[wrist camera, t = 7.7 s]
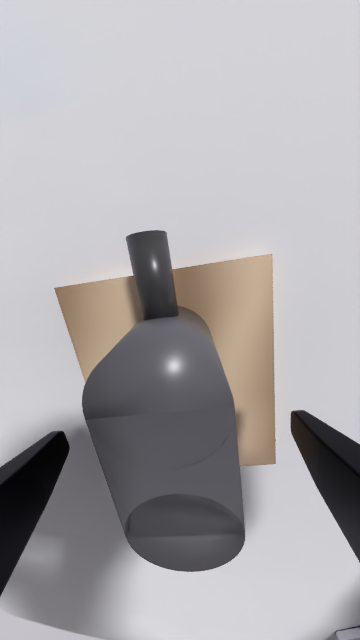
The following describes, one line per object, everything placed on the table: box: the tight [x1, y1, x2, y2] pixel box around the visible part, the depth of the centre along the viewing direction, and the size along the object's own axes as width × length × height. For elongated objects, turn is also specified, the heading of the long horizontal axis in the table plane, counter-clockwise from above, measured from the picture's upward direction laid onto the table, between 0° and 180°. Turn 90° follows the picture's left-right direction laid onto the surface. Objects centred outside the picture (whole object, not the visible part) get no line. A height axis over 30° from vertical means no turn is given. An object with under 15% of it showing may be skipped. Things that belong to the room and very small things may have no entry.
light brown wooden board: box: [54, 254, 276, 466], centre depth 10 cm, size 10×12×1 cm
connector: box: [82, 230, 245, 572], centre depth 8 cm, size 4×15×4 cm, turn 8°
